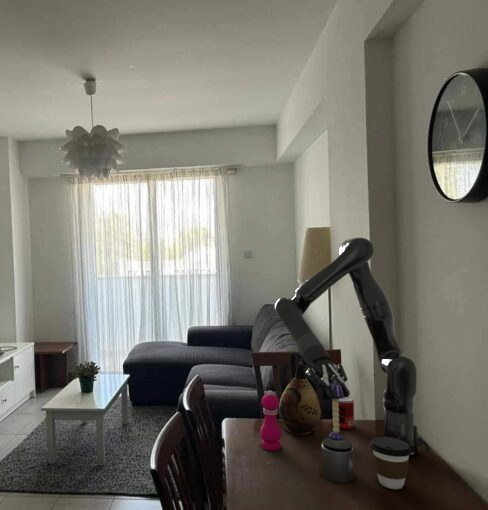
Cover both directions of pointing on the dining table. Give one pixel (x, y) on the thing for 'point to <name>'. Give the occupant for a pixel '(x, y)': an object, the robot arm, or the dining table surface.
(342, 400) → the canned food
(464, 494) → the dining table surface
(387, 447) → the coffee cup
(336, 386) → the toy lamp
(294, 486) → the dining table surface
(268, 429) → the pepper mill
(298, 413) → the ceramic jug
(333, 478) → the grey metal canister
